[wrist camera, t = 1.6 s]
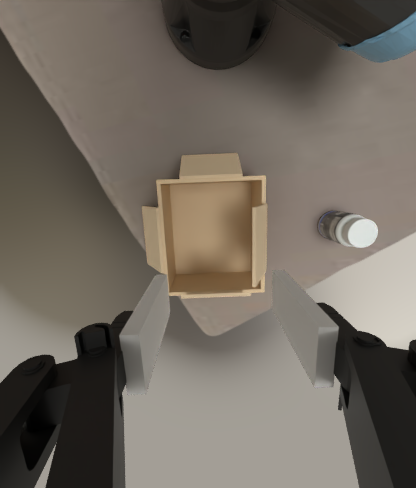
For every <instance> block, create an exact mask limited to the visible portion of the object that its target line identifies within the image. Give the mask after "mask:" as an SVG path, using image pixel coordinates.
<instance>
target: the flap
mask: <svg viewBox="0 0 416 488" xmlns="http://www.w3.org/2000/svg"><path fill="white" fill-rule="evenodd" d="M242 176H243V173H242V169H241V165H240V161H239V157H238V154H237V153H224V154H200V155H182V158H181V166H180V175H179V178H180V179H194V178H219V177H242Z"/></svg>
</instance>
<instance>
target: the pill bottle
mask: <svg viewBox="0 0 416 488" xmlns="http://www.w3.org/2000/svg"><path fill="white" fill-rule="evenodd" d="M318 229H319V232H320V234H321V235H322V236H323V237H325V238H327V239H330V240H332V241H335V242H337V243H340V244H342V245H345V246H349V247H353V246H354V247H357V248H364V247H367V246H369V245H371V244H372V243H373V242H374V241H375V239H376V237H377V234H378V228H377V226H376V224H375V223H374V222H373V221H371V220H369V219H366V218H364V217H363V216H361V215H358V214H351V213H346V212H339V211H330V212H327V213H325V214H324V215H323V216H322V217H321V219H320V220H319V223H318Z"/></svg>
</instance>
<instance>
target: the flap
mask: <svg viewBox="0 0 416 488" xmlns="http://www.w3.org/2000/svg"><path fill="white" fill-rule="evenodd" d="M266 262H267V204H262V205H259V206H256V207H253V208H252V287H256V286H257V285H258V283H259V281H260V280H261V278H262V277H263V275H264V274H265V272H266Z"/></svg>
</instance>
